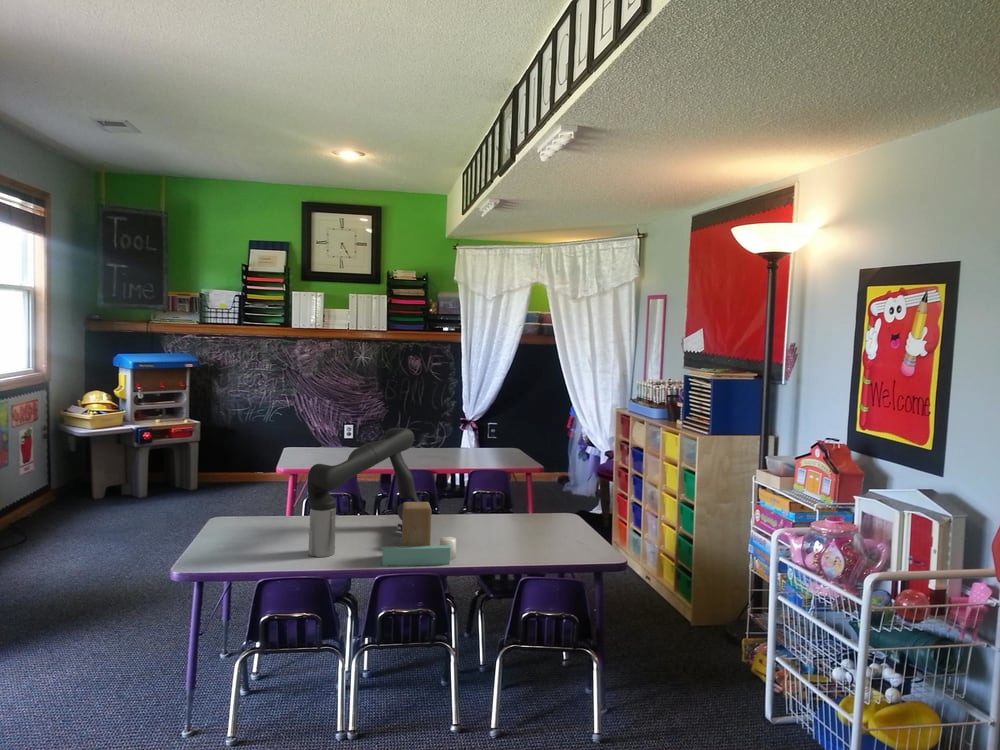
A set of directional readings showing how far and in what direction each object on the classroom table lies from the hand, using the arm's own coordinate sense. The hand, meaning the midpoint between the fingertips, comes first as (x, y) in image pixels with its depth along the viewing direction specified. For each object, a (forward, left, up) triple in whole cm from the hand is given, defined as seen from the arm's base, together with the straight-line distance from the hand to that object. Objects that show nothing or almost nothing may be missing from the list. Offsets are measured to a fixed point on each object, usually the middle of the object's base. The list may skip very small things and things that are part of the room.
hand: (414, 533), depth 262 cm
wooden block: (0, -5, -8) cm, 9 cm away
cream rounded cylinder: (+12, -6, -8) cm, 15 cm away
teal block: (0, -12, -8) cm, 14 cm away
